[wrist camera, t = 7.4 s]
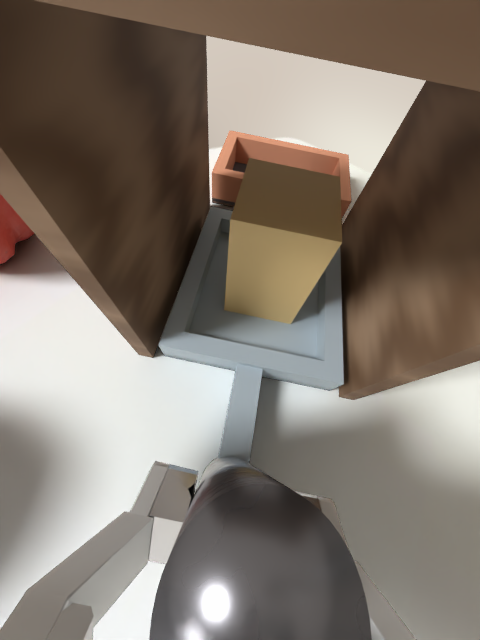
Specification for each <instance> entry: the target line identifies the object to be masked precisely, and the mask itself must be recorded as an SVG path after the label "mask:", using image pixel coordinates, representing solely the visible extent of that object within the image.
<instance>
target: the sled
mask: <svg viewBox="0 0 480 640" xmlns="http://www.w3.org/2000/svg"><path fill="white" fill-rule="evenodd" d="M232 212H233V211H231V210H227V209H222V208H217V207H212V206H211V208H210V211H209V213H208V216H207V218H206V221H205V224H204V226H203V229H202V232H201V234H200V237H199V240H198V242H197V245H196V247H195V250H194V253H193V255H192V258H191V261H190V263H189V266H188V268H187V271H186V274H185V276H184V279H183V282H182V284H181V287H180V290H179V292H178V295H177V297H176V300H175V303H174V305H173V308H172V311H171V313H170V316H169V319H168V321H167V324H166V326H165V329H164V332H163V334H162V337H161V340H160V342H159V347H160V349H161V351H162V352H163V354H164V356H167V357H172V358H176V359H181V360H186V361H191V362H195V363H200V364H205V365H210V366H214V367H219V368H224V369H229V370H233V371H235V375H234V380H233V385H232V390H231V396H230V401H229V406H228V411H227V416H226V421H225V426H224V431H223V436H222V441H221V446H220V451H219V456H218V458H216V459H214V460H213V461H212V462H210V463H209V465H208V466H207V467H206V469H205V470H204V472H203V475H202V477H201V479H200V482H199V484H198V487H197V489H196V492H195V494H194V497H193V499H192V502H191V504H190V507H189V509H188V511H187V514H186V516H185V519H184V521H183V524H182V526H181V529H180V531H179V534H178V536H177V539H176V541H175V543H174V546H173V548H172V551H171V553H170V556H169V558H168V561H167V563H166V566H165V568H164V571H163V573H162V576H161V580H160V583H159V586H158V590H157V593H156V598H155V603H154V608H153V613H152V620H151V629H150V640H372V637H371V626H370V617H369V612H368V606H367V601H366V596H365V593H364V589H363V585H362V582H361V578H360V576H359V573H358V570H357V567H356V565H355V562H354V560H353V558H352V556H351V554H350V552H349V549H348V547H347V546H346V544H345V542H344V541H343V539H342V537H341V535H340V534H339V532H338V531H337V530H336V528H335V527H334V526H333V524H332V523H331V521H330V520H329V519H328V518H327V517H326V516H325V515H324V514H323V513H322V512H321V510H319V509H318V508H317V507H316V506H315V505H314V504H312V503H311V502H310V501H309V500H307V499H306V498H304V497H302V496H301V495H299V494H298V493H296V492H294V491H293V490H291V489H290V488H288V487H286V486H285V485H283V484H281V483H280V482H278V481H276V480H275V479H273V478H271V477H270V476H268V475H266V474H265V473H263V472H262V471H260V470H258V469H257V468H255V467H253V466H252V465H250V464H249V462H250V455H251V448H252V441H253V434H254V427H255V420H256V413H257V406H258V399H259V392H260V385H261V378H262V377H267V378H271V379H276V380H281V381H286V382H290V383H295V384H300V385H305V386H309V387H314V388H319V389H324V390H328V391H330V390H332V389H334V388H337V387H339V386H341V385H343V384H344V374H343V334H342V295H341V256H340V247H339V248H338V250H337V252H336V253H335V255H334V256H333V258H332V260H331V261H330V263H329V264H328V266H327V267H326V269H325V271H324V272H323V274H322V275H321V277H320V279H319V280H318V282H317V283H316V285H315V286H314V288H313V290H312V291H311V293H310V294H309V296H308V297H307V299H306V301H305V302H304V304H303V305H302V307H301V309H300V310H299V312H298V313H297V315H296V316H295V318H294V320H293V321H292V323H291V324H287V323H283V322H278V321H273V320H268V319H263V318H259V317H254V316H249V315H244V314H240V313H235V312H230V311H225V310H224V305H225V290H226V275H227V260H228V246H229V231H230V219H231V215H232Z"/></svg>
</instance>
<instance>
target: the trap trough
mask: <svg viewBox="0 0 480 640" xmlns="http://www.w3.org/2000/svg"><path fill="white" fill-rule="evenodd" d="M249 158H252V159H257V160H262V161H267V162H272V163H277V164H281V165H286V166H291V167H296V168H301V169H306V170H310V171H315V172H320V173H325V174H330V175H335V176H339V177H340V185H341V217H343V216H344V214H345V212H346V210H347V209H348V207H349V205H350V203H351V187H350V172H349V157H348V155H346V154H342V153H337V152H331V151H327V150H322V149H317V148H313V147H308V146H303V145H298V144H293V143H288V142H283V141H279V140H274V139H269V138H264V137H259V136H254V135H249V134H245V133H240V132H235V131H229V133H228V136H227V138H226V140H225V143H224V145H223V148H222V150H221V152H220V155H219V157H218V159H217V162H216V164H215V167H214V169H213V171H212V202H213V203H218V204H223V205H228V206H232V207H234V205H235V202H236V199H237V196H238V192H239V189H240V186H241V183H242V179H243V176H244V173H245V170H246V166H247V163H248V160H249Z"/></svg>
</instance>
